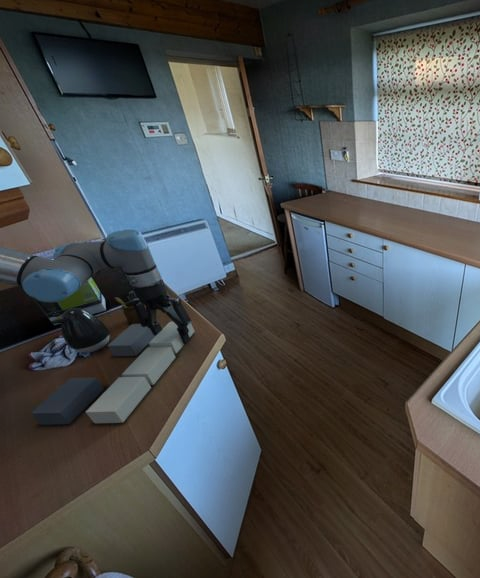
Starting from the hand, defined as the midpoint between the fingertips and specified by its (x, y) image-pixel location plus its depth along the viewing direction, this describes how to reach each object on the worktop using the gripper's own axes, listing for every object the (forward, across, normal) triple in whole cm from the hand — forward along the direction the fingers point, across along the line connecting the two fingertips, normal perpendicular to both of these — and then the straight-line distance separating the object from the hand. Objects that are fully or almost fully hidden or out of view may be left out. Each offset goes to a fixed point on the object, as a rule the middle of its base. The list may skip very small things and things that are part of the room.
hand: (175, 341), depth 98 cm
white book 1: (+1, 0, -24) cm, 24 cm away
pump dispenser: (+1, -26, -1) cm, 26 cm away
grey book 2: (+1, -13, 0) cm, 13 cm away
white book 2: (+1, 0, -12) cm, 12 cm away
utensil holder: (+1, -22, +14) cm, 26 cm away
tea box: (+1, -47, +19) cm, 51 cm away
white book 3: (0, 0, 0) cm, 0 cm away
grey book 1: (+1, -13, -24) cm, 27 cm away
